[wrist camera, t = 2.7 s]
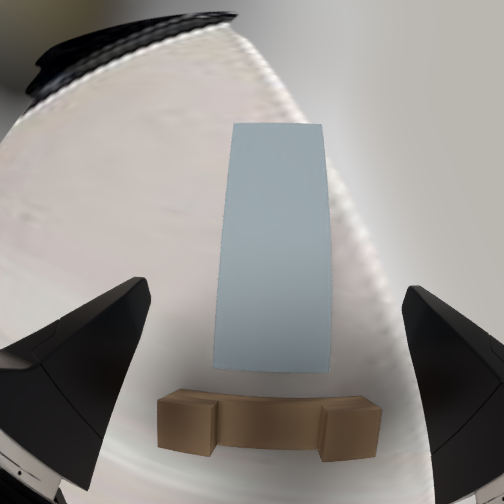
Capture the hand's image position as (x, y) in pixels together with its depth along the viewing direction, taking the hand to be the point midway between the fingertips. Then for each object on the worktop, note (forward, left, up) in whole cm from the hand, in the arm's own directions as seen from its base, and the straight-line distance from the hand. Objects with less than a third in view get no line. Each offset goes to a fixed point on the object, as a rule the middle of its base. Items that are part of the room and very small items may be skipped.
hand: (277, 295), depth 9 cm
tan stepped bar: (-6, +2, -9) cm, 12 cm away
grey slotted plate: (+2, -1, -9) cm, 10 cm away
